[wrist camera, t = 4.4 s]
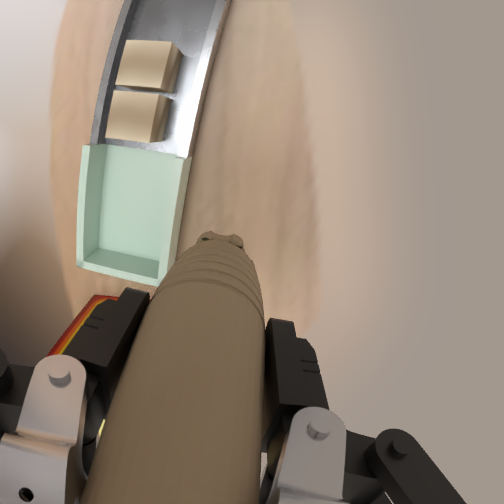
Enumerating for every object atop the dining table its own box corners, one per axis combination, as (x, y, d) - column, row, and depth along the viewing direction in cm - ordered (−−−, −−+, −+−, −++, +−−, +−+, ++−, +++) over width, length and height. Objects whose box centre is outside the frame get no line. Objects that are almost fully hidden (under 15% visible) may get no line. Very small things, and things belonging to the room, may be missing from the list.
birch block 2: (131, 94, 24) (113, 90, 21) (171, 98, 25) (158, 94, 21) (123, 135, 26) (105, 137, 22) (162, 141, 26) (149, 143, 22)
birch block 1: (142, 50, 23) (126, 39, 19) (182, 53, 23) (172, 41, 19) (132, 89, 24) (115, 84, 20) (172, 93, 24) (160, 88, 21)
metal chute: (149, -32, 20) (141, -43, 17) (240, -28, 21) (239, -40, 18) (102, 142, 27) (89, 144, 24) (192, 155, 28) (186, 158, 25)
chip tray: (102, 142, 27) (83, 145, 23) (192, 155, 28) (183, 159, 24) (93, 251, 31) (76, 266, 28) (174, 270, 32) (164, 288, 28)
